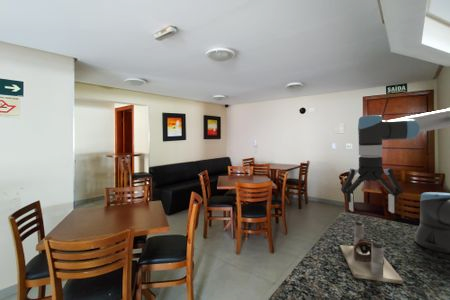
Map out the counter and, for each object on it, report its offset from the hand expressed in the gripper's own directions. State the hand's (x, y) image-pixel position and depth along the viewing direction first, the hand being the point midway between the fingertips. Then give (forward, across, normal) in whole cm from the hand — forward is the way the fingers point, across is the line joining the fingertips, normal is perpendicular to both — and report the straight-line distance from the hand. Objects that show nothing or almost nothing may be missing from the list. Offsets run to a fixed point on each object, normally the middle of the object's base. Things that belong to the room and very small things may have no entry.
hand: (370, 211), depth 84 cm
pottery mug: (+18, +2, +3) cm, 19 cm away
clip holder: (+19, +3, +3) cm, 20 cm away
